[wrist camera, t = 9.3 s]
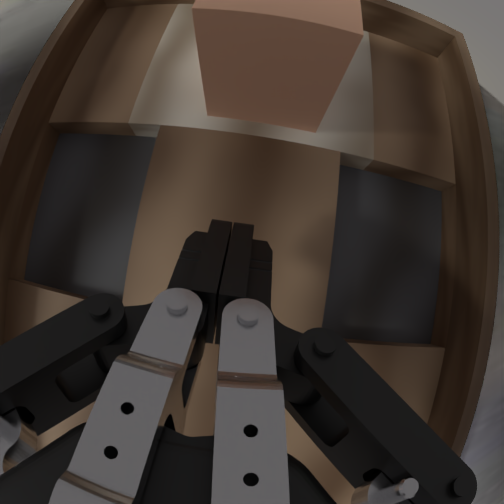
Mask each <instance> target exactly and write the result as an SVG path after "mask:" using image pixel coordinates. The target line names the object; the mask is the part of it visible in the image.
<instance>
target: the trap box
mask: <svg viewBox="0 0 504 504" xmlns="http://www.w3.org/2000/svg"><path fill="white" fill-rule="evenodd" d="M194 2H195V0H75V1H74V2H73V3H72V5H71V6H70V7H69V9H68V10H67V12H66V13H65V15H64V16H63V17H62V19H61V20H60V22H59V23H58V25H57V26H56V28H55V29H54V31H53V32H52V34H51V36H50V37H49V39H48V40H47V42H46V44H45V45H44V47H43V49H42V50H41V52H40V54H39V56H38V57H37V59H36V61H35V63H34V64H33V66H32V68H31V70H30V72H29V74H28V76H27V78H26V79H25V81H24V83H23V85H22V87H21V90H20V92H19V94H18V96H17V98H16V100H15V102H14V104H13V107H12V109H11V111H10V114H9V116H8V118H7V121H6V123H5V126H4V128H3V131H2V133H1V136H0V346H1V345H3V344H4V343H6V342H8V341H10V340H11V339H13V338H15V337H17V336H18V335H20V334H22V333H24V332H26V331H27V330H29V329H31V328H33V327H34V326H36V325H38V324H40V323H42V322H44V321H45V320H47V319H49V318H51V317H53V316H54V315H56V314H58V313H60V312H62V311H64V310H65V309H67V308H69V307H71V306H73V305H75V304H77V303H78V302H80V301H82V300H84V299H86V298H88V297H90V296H92V295H95V294H99V293H108V294H112V295H115V296H116V297H118V298H119V299H120V300H121V301H122V303H123V305H124V306H137V305H145V304H149V303H152V302H153V301H154V299H155V297H156V296H157V295H158V294H160V293H161V292H163V291H165V290H166V289H167V287H168V284H169V282H170V279H171V276H172V274H173V271H174V268H175V266H176V263H177V261H178V259H179V255H180V253H181V250H182V248H183V245H184V243H185V240H186V238H187V237H189V236H190V235H191V234H192V233H193V232H195V231H200V232H207V233H208V229H209V226H210V223H211V220H212V219H216V220H223V221H230V222H232V229H233V224H234V222H238V223H245V224H251V225H254V232H253V239H256V240H263V241H267V242H268V244H269V245H270V247H271V249H272V251H273V260H272V288H271V309H272V312H273V314H274V316H275V317H276V319H277V320H278V321H279V322H281V323H282V324H283V325H285V326H286V327H289V328H291V329H293V330H296V331H298V332H301V333H304V332H305V331H307V330H309V329H312V328H318V327H320V328H327V329H330V330H332V331H334V332H336V333H338V334H339V335H340V336H341V337H342V338H343V339H344V340H345V341H346V342H347V343H348V344H349V345H350V346H351V347H352V348H353V349H354V350H355V351H356V352H357V353H358V354H359V355H360V356H361V357H362V358H363V359H364V360H365V361H366V362H367V363H368V364H369V365H370V366H371V367H372V368H373V369H374V370H375V371H376V372H377V373H378V374H379V375H380V377H381V378H382V379H383V380H384V381H385V382H386V383H387V384H388V385H389V386H390V387H391V388H392V389H393V390H394V391H395V392H396V393H397V394H398V395H399V396H400V397H401V398H402V399H403V400H404V401H405V402H406V403H407V404H408V405H409V406H410V407H411V408H412V409H413V410H414V411H415V412H416V413H417V414H418V415H419V416H420V417H421V418H422V419H423V420H424V422H425V423H426V424H427V425H428V426H429V427H430V428H431V429H432V430H433V431H434V432H435V433H436V434H437V435H438V436H439V437H440V438H441V439H442V440H443V441H444V442H445V443H446V444H447V445H448V446H449V447H450V448H451V449H452V450H453V451H454V452H455V453H456V454H457V455H458V456H459V457H460V456H461V453H462V450H463V447H464V445H465V442H466V439H467V436H468V433H469V430H470V427H471V424H472V421H473V417H474V414H475V411H476V407H477V403H478V400H479V396H480V392H481V388H482V384H483V380H484V375H485V371H486V366H487V361H488V356H489V350H490V345H491V339H492V332H493V325H494V317H495V309H496V299H497V287H498V271H499V212H498V195H497V183H496V173H495V165H494V157H493V150H492V144H491V138H490V132H489V127H488V122H487V117H486V112H485V107H484V103H483V99H482V95H481V91H480V87H479V83H478V80H477V76H476V73H475V69H474V66H473V63H472V59H471V56H470V53H469V50H468V47H467V44H466V42H465V39H464V36H463V34H462V33H460V32H458V31H456V30H454V29H452V28H450V27H448V26H446V25H444V24H442V23H440V22H438V21H436V20H434V19H432V18H429V17H427V16H425V15H422V14H420V13H418V12H415V11H413V10H411V9H408V8H406V7H403V6H401V5H398V4H395V3H392V2H390V1H387V0H360V3H361V12H362V22H363V33H364V36H363V38H362V40H361V42H360V44H359V46H358V48H357V50H356V52H355V54H354V56H353V58H352V60H351V62H350V64H349V66H348V68H347V70H346V72H345V74H344V76H343V78H342V80H341V82H340V84H339V86H338V88H337V90H336V92H335V94H334V97H333V99H332V101H331V103H330V105H329V107H328V109H327V111H326V113H325V115H324V117H323V119H322V121H321V123H320V125H319V127H318V129H317V131H316V133H314V132H309V131H304V130H299V129H294V128H288V127H283V126H277V125H271V124H265V123H259V122H252V121H246V120H239V119H231V118H223V117H215V116H207V110H206V104H205V97H204V91H203V84H202V77H201V71H200V64H199V57H198V50H197V43H196V36H195V29H194V22H193V15H192V6H193V4H194ZM231 234H232V233H231ZM215 336H216V329H215V335H214V340H213V344H211V343H205V348H204V353H203V357H202V359H201V365H200V369H199V372H198V375H197V379H196V382H195V386H194V389H193V393H192V396H191V399H190V403H189V406H188V410H187V414H186V421H185V428H184V433H183V435H185V436H189V437H197V436H212V435H213V425H214V410H215V394H216V379H217V365H218V354H219V345H218V344H215ZM95 402H96V401H94V402H93V403H91V404H90V405H88V406H86V407H85V408H83V409H82V410H80V411H78V412H77V413H75V414H74V415H72V416H70V417H69V418H67V419H65V420H64V421H62V422H61V423H59V424H57V425H56V426H54V427H52V428H51V429H49V430H47V431H46V432H44V433H42V434H41V435H39V436H37V452H38V451H39V450H41V449H42V448H44V447H45V446H47V445H48V444H50V443H51V442H53V441H54V440H56V439H57V438H59V437H60V436H62V435H63V434H65V433H66V432H68V431H69V430H71V429H72V428H74V427H76V426H78V425H80V424H82V423H85V422H87V420H88V418H89V415H90V413H91V411H92V408H93V406H94V404H95ZM285 423H286V440H287V453H288V454H290V455H292V456H293V457H295V458H296V459H298V460H299V461H300V462H302V463H303V464H304V465H305V466H306V467H307V468H308V469H309V470H310V472H311V473H312V474H313V475H314V476H315V478H316V479H317V480H318V481H319V483H320V484H321V485H322V486H323V488H324V489H325V490H326V491H327V492H328V494H329V495H330V496H331V497H332V498H333V500H334V501H335V502H336V503H337V504H351V498H352V495H353V493H354V491H355V488H354V487H353V486H352V485H351V484H350V483H349V482H348V481H347V480H346V478H345V477H344V476H343V475H342V474H341V473H340V472H339V471H338V470H337V469H336V467H335V466H334V465H333V464H332V463H331V462H330V461H329V460H328V458H327V457H326V456H325V455H324V454H323V453H322V451H321V450H320V449H319V448H318V447H317V446H316V445H315V443H314V442H313V441H312V440H311V439H310V438H309V436H308V435H307V434H306V433H305V432H304V430H303V429H302V428H301V427H300V426H299V424H298V423H297V422H296V421H295V420H294V418H293V417H292V416H291V415H290V414H289V412H288V411H287V410H286V409H285Z"/></svg>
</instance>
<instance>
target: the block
mask: <svg viewBox="0 0 504 504" xmlns="http://www.w3.org/2000/svg"><path fill="white" fill-rule="evenodd" d="M192 15H193V22H194V29H195V36H196V43H197V50H198V57H199V64H200V71H201V77H202V84H203V91H204V97H205V104H206V110H207V116H215V117H223V118H231V119H239V120H246V121H252V122H259V123H265V124H271V125H277V126H283V127H288V128H294V129H299V130H304V131H309V132H314V133H316V131H317V129H318V127H319V125H320V123H321V121H322V119H323V117H324V115H325V113H326V111H327V109H328V107H329V105H330V103H331V101H332V99H333V97H334V94H335V92H336V90H337V88H338V86H339V84H340V82H341V80H342V78H343V76H344V74H345V72H346V70H347V68H348V66H349V64H350V62H351V60H352V58H353V56H354V54H355V52H356V50H357V48H358V46H359V44H360V42H361V40H362V38H363V36H364V33H363V22H362V12H361V3H360V0H195V2H194V4H193V6H192Z"/></svg>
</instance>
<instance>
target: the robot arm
mask: <svg viewBox="0 0 504 504" xmlns="http://www.w3.org/2000/svg"><path fill="white" fill-rule="evenodd" d="M253 232H254V225H251V224H245V223H238V222H234V224H233V229H232V222H230V221H223V220H216V219H212V220H211V223H210V226H209V229H208V233H207V232H200V231H195V232H193V233H192V234H191V235H190V236H189V237H187V238H186V240H185V243H184V245H183V248H182V250H181V253H180V255H179V259H178V261H177V263H176V266H175V268H174V271H173V274H172V276H171V279H170V282H169V284H168V287H167V289H166V290H165V291H163V292H161V293H160V294H158V295H157V296H156V297H155V299H154V301H153V302H152V303H149V304H145V305H137V306H124V305H123V303H122V301H121V300H120V299H119V298H118V297H116V296H115V295H112V294H108V293H99V294H95V295H92V296H90V297H88V298H86V299H84V300H82V301H80V302H78V303H77V304H75V305H73V306H71V307H69V308H67V309H65V310H64V311H62V312H60V313H58V314H56V315H54V316H53V317H51V318H49V319H47V320H45V321H44V322H42V323H40V324H38V325H36V326H34V327H33V328H31V329H29V330H27V331H26V332H24V333H22V334H20V335H18V336H17V337H15V338H13V339H11V340H10V341H8V342H6V343H4V344H3V345H1V346H0V504H337V503H336V502H335V501H334V500H333V498H332V497H331V496H330V495H329V494H328V492H327V491H326V490H325V489H324V488H323V486H322V485H321V484H320V483H319V481H318V480H317V479H316V478H315V476H314V475H313V474H312V473H311V472H310V470H309V469H308V468H307V467H306V466H305V465H304V464H303V463H302V462H300V461H299V460H298V459H296V458H295V457H293V456H292V455H290V454H288V453H287V440H286V423H285V409H286V410H287V411H288V412H289V414H290V415H291V416H292V417H293V418H294V420H295V421H296V422H297V423H298V424H299V426H300V427H301V428H302V429H303V430H304V432H305V433H306V434H307V435H308V436H309V438H310V439H311V440H312V441H313V442H314V443H315V445H316V446H317V447H318V448H319V449H320V450H321V451H322V453H323V454H324V455H325V456H326V457H327V458H328V460H329V461H330V462H331V463H332V464H333V465H334V466H335V467H336V469H337V470H338V471H339V472H340V473H341V474H342V475H343V476H344V477H345V478H346V480H347V481H348V482H349V483H350V484H351V485H352V486H353V487H354V488H355V491H354V493H353V495H352V498H351V504H471V503H472V501H473V499H474V497H475V495H476V491H477V481H476V477H475V475H474V473H473V471H472V470H471V469H470V468H469V467H468V466H467V465H466V464H465V463H464V462H463V461H462V460H461V458H460V457H459V456H458V455H457V454H456V453H455V452H454V451H453V450H452V449H451V448H450V447H449V446H448V445H447V444H446V443H445V442H444V441H443V440H442V439H441V438H440V437H439V436H438V435H437V434H436V433H435V432H434V431H433V430H432V429H431V428H430V427H429V426H428V425H427V424H426V423H425V422H424V420H423V419H422V418H421V417H420V416H419V415H418V414H417V413H416V412H415V411H414V410H413V409H412V408H411V407H410V406H409V405H408V404H407V403H406V402H405V401H404V400H403V399H402V398H401V397H400V396H399V395H398V394H397V393H396V392H395V391H394V390H393V389H392V388H391V387H390V386H389V385H388V384H387V383H386V382H385V381H384V380H383V379H382V378H381V377H380V375H379V374H378V373H377V372H376V371H375V370H374V369H373V368H372V367H371V366H370V365H369V364H368V363H367V362H366V361H365V360H364V359H363V358H362V357H361V356H360V355H359V354H358V353H357V352H356V351H355V350H354V349H353V348H352V347H351V346H350V345H349V344H348V343H347V342H346V341H345V340H344V339H343V338H342V337H341V336H340V335H339V334H338V333H336V332H334V331H332V330H330V329H327V328H320V327H318V328H312V329H309V330H307V331H305V332H304V333H301V332H298V331H296V330H293V329H291V328H289V327H286V326H285V325H283V324H282V323H281V322H279V321H278V320H277V319H276V317H275V316H274V314H273V312H272V309H271V288H272V260H273V251H272V249H271V247H270V245H269V244H268V242H267V241H263V240H256V239H253ZM231 233H232V234H231ZM215 329H216V336H215V344H218V345H219V354H218V365H217V379H216V394H215V410H214V425H213V435H212V436H197V437H189V436H185V435H183V433H184V428H185V421H186V414H187V410H188V406H189V403H190V399H191V396H192V393H193V389H194V386H195V382H196V379H197V375H198V372H199V369H200V365H201V359H202V357H203V353H204V348H205V343H211V344H213V340H214V335H215ZM94 401H96V402H95V404H94V406H93V408H92V411H91V413H90V415H89V418H88V420H87V422H85V423H82V424H80V425H78V426H76V427H74V428H72V429H71V430H69V431H68V432H66V433H65V434H63V435H62V436H60V437H59V438H57V439H56V440H54V441H53V442H51V443H50V444H48V445H47V446H45V447H44V448H42V449H41V450H39V451H38V452H37V436H39V435H41V434H42V433H44V432H46V431H47V430H49V429H51V428H52V427H54V426H56V425H57V424H59V423H61V422H62V421H64V420H65V419H67V418H69V417H70V416H72V415H74V414H75V413H77V412H78V411H80V410H82V409H83V408H85V407H86V406H88V405H90V404H91V403H93V402H94Z"/></svg>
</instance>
